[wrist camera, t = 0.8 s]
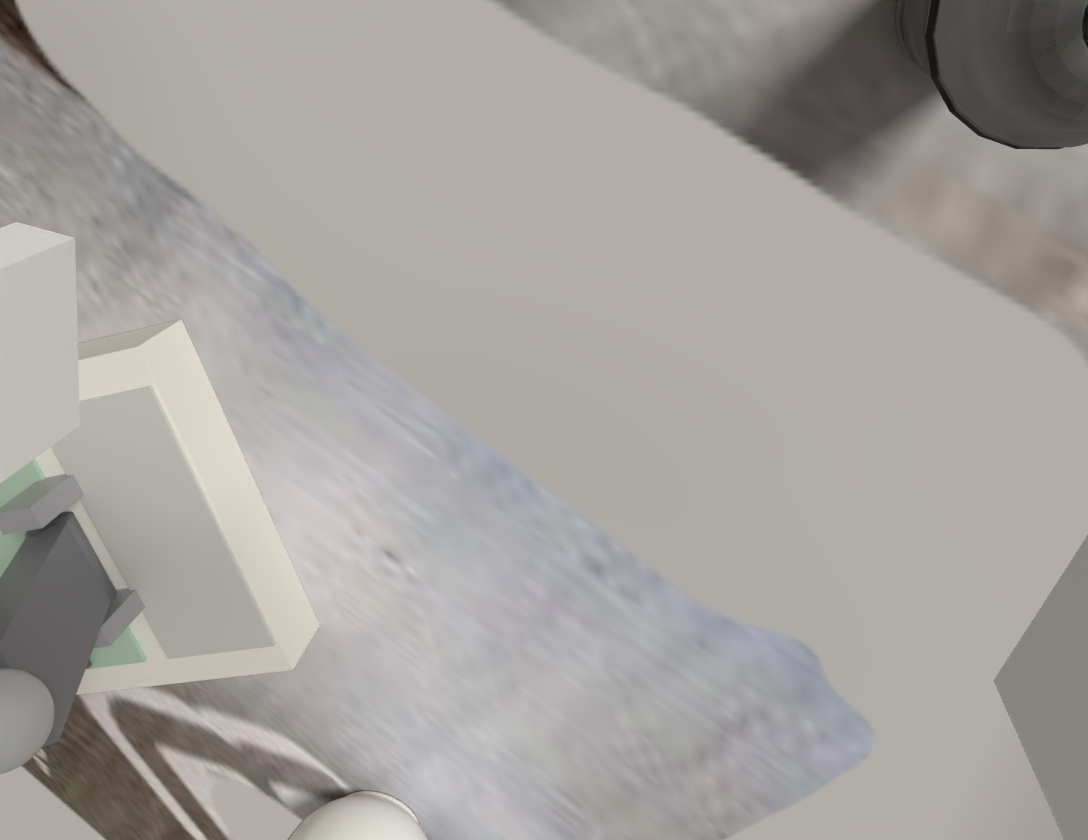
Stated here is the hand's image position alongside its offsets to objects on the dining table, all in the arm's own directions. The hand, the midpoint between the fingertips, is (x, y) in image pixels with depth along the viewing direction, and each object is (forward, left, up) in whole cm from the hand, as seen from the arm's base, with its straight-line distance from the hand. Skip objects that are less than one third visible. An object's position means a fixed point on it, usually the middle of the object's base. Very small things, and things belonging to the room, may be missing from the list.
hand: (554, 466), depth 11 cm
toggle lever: (-15, -33, -25) cm, 44 cm away
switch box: (-15, -33, -30) cm, 47 cm away
